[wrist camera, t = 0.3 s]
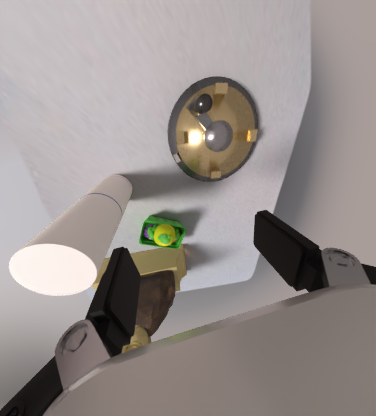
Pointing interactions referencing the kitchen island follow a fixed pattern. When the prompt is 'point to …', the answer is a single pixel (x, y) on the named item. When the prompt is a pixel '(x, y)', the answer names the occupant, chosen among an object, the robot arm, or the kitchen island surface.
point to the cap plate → (177, 110)
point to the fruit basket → (162, 233)
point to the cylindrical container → (73, 242)
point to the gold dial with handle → (215, 130)
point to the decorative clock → (153, 289)
